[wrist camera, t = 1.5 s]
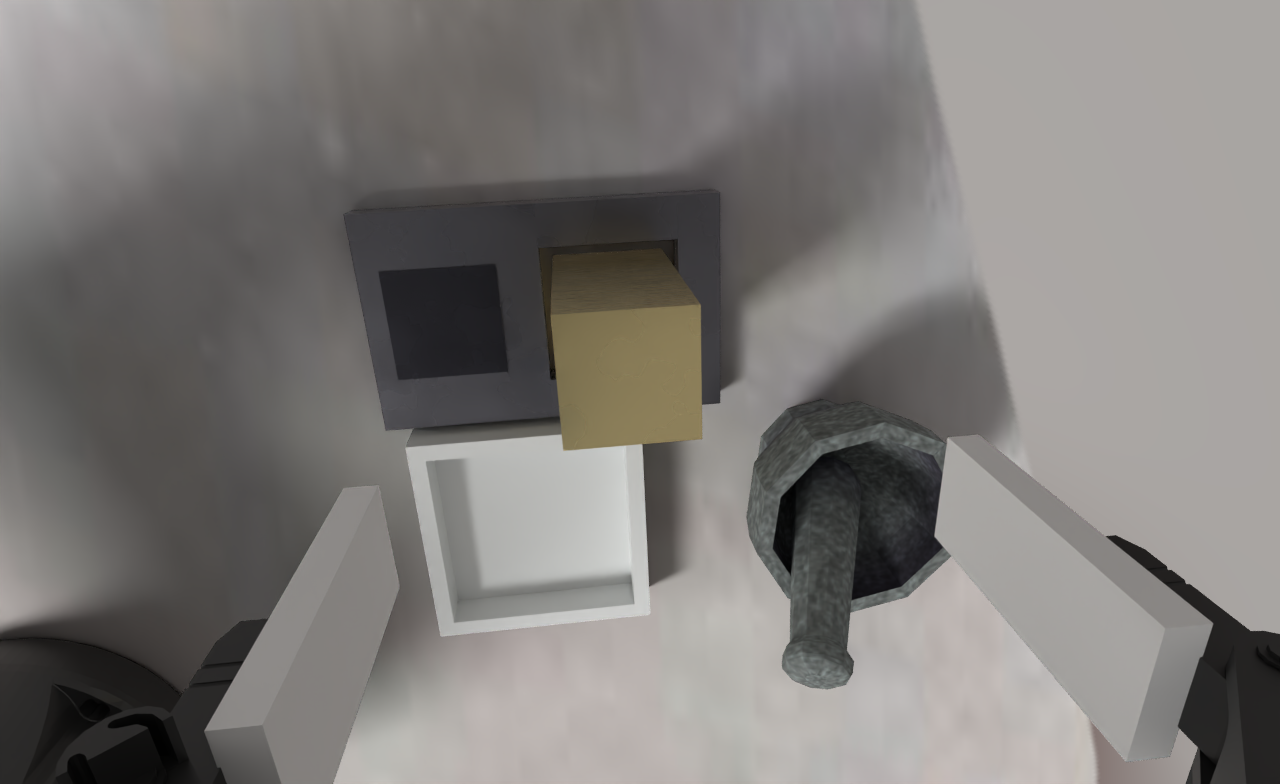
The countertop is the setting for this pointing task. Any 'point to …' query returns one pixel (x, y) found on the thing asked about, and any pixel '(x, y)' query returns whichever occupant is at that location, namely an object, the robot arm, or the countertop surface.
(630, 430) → the brass block
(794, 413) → the mortar and pestle
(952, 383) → the countertop surface
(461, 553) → the white tray
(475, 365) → the dark grey flat slab
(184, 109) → the countertop surface
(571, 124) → the countertop surface
